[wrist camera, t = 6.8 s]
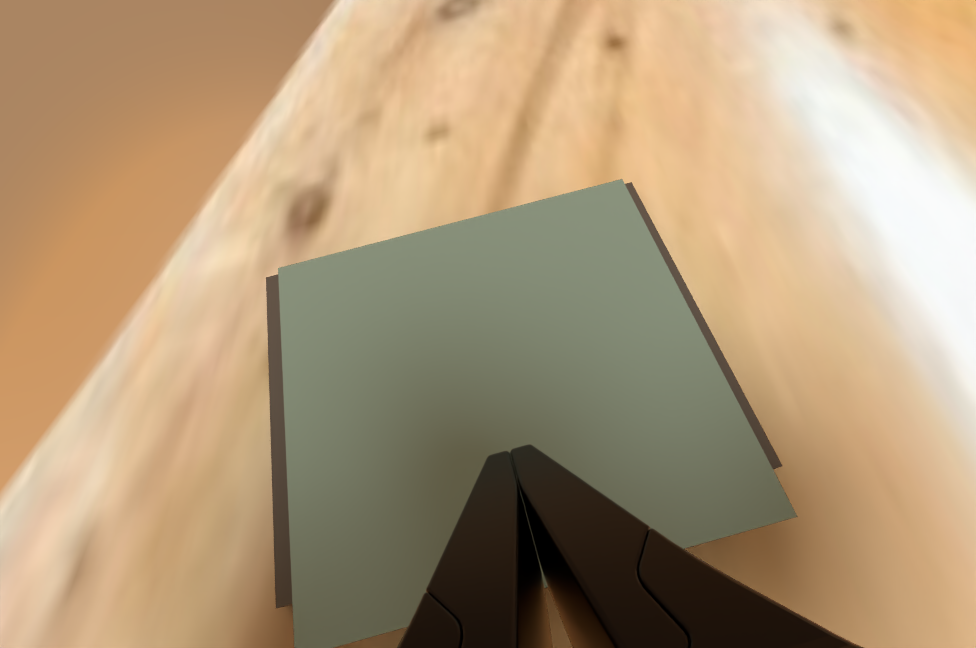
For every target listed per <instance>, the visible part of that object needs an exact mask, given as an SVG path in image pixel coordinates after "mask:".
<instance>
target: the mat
mask: <svg viewBox="0 0 976 648" xmlns="http://www.w3.org/2000/svg"><path fill="white" fill-rule="evenodd" d="M625 186H626V188H627V189H628V191H629V193H630V195H631V197H632V199H633V201H634V203H635V205H636V207H637V209H638V211H639V213H640V214H641V216H642V218H643V220H644V222H645V224H646V226H647V228H648V230H649V232H650V234H651V236H652V238H653V239H654V241H655V243H656V245H657V247H658V249H659V251H660V253H661V255H662V257H663V259H664V261H665V263H666V264H667V266H668V268H669V270H670V272H671V274H672V276H673V278H674V280H675V282H676V284H677V286H678V288H679V289H680V291H681V293H682V295H683V297H684V299H685V301H686V303H687V305H688V307H689V309H690V311H691V313H692V315H693V316H694V318H695V320H696V322H697V324H698V326H699V328H700V330H701V332H702V334H703V336H704V338H705V340H706V341H707V343H708V345H709V347H710V349H711V351H712V353H713V355H714V357H715V359H716V361H717V363H718V365H719V366H720V368H721V370H722V372H723V374H724V376H725V378H726V380H727V382H728V384H729V386H730V388H731V390H732V391H733V393H734V395H735V397H736V399H737V401H738V403H739V405H740V407H741V409H742V411H743V413H744V415H745V416H746V418H747V420H748V422H749V424H750V426H751V428H752V430H753V432H754V434H755V436H756V438H757V440H758V442H759V443H760V445H761V447H762V449H763V451H764V453H765V455H766V457H767V459H768V461H769V463H770V465H771V467H772V468H773V469H776V468H778V467H781V466H782V464H781V462H780V461H779V459H778V457H777V455H776V453H775V451H774V449H773V447H772V446H771V444H770V442H769V440H768V438H767V436H766V434H765V432H764V431H763V429H762V427H761V425H760V423H759V421H758V419H757V417H756V415H755V414H754V412H753V410H752V408H751V406H750V404H749V402H748V400H747V399H746V397H745V395H744V393H743V391H742V389H741V387H740V385H739V384H738V382H737V380H736V378H735V376H734V374H733V372H732V370H731V369H730V367H729V365H728V363H727V361H726V359H725V357H724V355H723V353H722V352H721V350H720V348H719V346H718V344H717V342H716V340H715V338H714V337H713V335H712V333H711V331H710V329H709V327H708V325H707V323H706V322H705V320H704V318H703V316H702V314H701V312H700V310H699V308H698V307H697V305H696V303H695V301H694V299H693V297H692V295H691V293H690V292H689V290H688V288H687V286H686V284H685V282H684V280H683V278H682V276H681V275H680V273H679V271H678V269H677V267H676V265H675V263H674V261H673V260H672V258H671V256H670V254H669V252H668V250H667V248H666V246H665V245H664V243H663V241H662V239H661V237H660V235H659V233H658V231H657V230H656V228H655V226H654V224H653V222H652V220H651V218H650V216H649V214H648V213H647V211H646V209H645V207H644V205H643V203H642V201H641V199H640V198H639V196H638V194H637V192H636V190H635V188H634V186H633V184H632V183H627V184H625ZM266 291H267V324H268V358H269V391H270V425H271V458H272V492H273V525H274V559H275V592H276V608H280V607H284V606H288V605H292V580H291V557H290V534H289V510H288V487H287V464H286V441H285V417H284V394H283V371H282V347H281V324H280V301H279V277H278V275H274V276H270V277H266Z"/></svg>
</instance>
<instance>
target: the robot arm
mask: <svg viewBox="0 0 976 648" xmlns="http://www.w3.org/2000/svg"><path fill="white" fill-rule="evenodd" d="M510 454H511V455H510ZM511 458H512V459H511ZM512 462H513V463H512ZM513 465H514V466H513ZM514 469H515V470H514ZM515 473H516V474H515ZM517 480H518V481H517ZM518 484H519V485H518ZM519 488H520V489H519ZM520 491H521V492H520ZM521 495H522V496H521ZM522 499H523V500H522ZM524 506H525V507H524ZM525 510H526V511H525ZM526 514H527V515H526ZM527 517H528V518H527ZM528 521H529V522H528ZM529 525H530V526H529ZM530 529H531V530H530ZM531 532H532V533H531ZM532 536H533V537H532ZM533 540H534V541H533ZM534 543H535V545H534ZM535 547H536V548H535ZM536 551H537V552H536ZM537 555H538V556H537ZM538 558H539V559H538ZM539 562H540V564H539ZM540 565H541V568H542V572H543V575H544V577H545V580H546V583H547V585H548V588H549V590H550V593H551V595H552V598H553V600H554V603H555V605H556V608H557V610H558V613H559V615H560V617H561V620H562V622H563V625H564V627H565V630H566V632H567V635H568V637H569V640H570V642H571V645H572V647H573V648H863V647H861V646H859V645H856V644H854V643H852V642H850V641H848V640H846V639H844V638H842V637H840V636H838V635H836V634H834V633H832V632H831V631H829V630H827V629H825V628H823V627H821V626H820V625H818V624H816V623H814V622H812V621H810V620H808V619H807V618H805V617H803V616H801V615H799V614H797V613H796V612H794V611H792V610H790V609H788V608H786V607H785V606H783V605H781V604H779V603H777V602H775V601H774V600H772V599H770V598H768V597H766V596H764V595H762V594H761V593H759V592H757V591H755V590H753V589H751V588H750V587H748V586H746V585H744V584H742V583H740V582H739V581H737V580H735V579H733V578H731V577H730V576H728V575H726V574H724V573H723V572H721V571H719V570H718V569H716V568H714V567H712V566H711V565H709V564H707V563H705V562H704V561H702V560H700V559H699V558H697V557H695V556H694V555H692V554H691V553H689V552H688V551H686V550H685V549H683V548H682V547H680V546H678V545H677V544H675V543H674V542H672V541H671V540H669V539H668V538H666V537H665V536H663V535H662V534H661V533H659V532H658V531H656V530H655V529H653V528H650V526H649V525H647V524H646V523H644V522H643V521H641V520H640V519H639V518H637V517H636V516H634V515H633V514H631V513H630V512H628V511H627V510H626V509H624V508H623V507H621V506H620V505H618V504H617V503H615V502H614V501H613V500H611V499H610V498H608V497H607V496H605V495H604V494H602V493H601V492H599V491H598V490H597V489H595V488H594V487H592V486H591V485H589V484H588V483H586V482H585V481H584V480H582V479H581V478H579V477H578V476H576V475H575V474H573V473H572V472H571V471H569V470H568V469H566V468H565V467H563V466H562V465H560V464H559V463H557V462H556V461H555V460H553V459H552V458H550V457H549V456H547V455H546V454H544V453H543V452H542V451H540V450H539V449H537V448H536V447H534V446H533V445H531V444H528V445H524V446H520V447H517V448H513V449H512V450H511V452H510V453H509V452H508V451H502V452H499V453H495V454H492V455H489V456H488V457H487V459H486V461H485V463H484V465H483V467H482V469H481V471H480V474H479V476H478V478H477V480H476V482H475V484H474V487H473V489H472V491H471V493H470V495H469V497H468V500H467V502H466V504H465V506H464V508H463V510H462V512H461V515H460V517H459V519H458V521H457V523H456V525H455V528H454V530H453V532H452V534H451V536H450V538H449V541H448V543H447V545H446V547H445V549H444V551H443V553H442V556H441V558H440V560H439V562H438V564H437V566H436V569H435V571H434V573H433V575H432V577H431V579H430V582H429V584H428V586H427V588H426V593H424V594H423V596H422V598H421V600H420V603H419V605H418V607H417V609H416V611H415V613H414V615H413V617H412V619H411V621H410V623H409V625H408V627H407V629H406V631H405V633H404V635H403V637H402V639H401V641H400V643H399V645H398V647H397V648H553V646H552V639H551V632H550V625H549V618H548V611H547V604H546V597H545V590H544V583H543V578H542V572H541V568H540Z"/></svg>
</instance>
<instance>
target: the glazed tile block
mask: <svg viewBox="0 0 976 648" xmlns="http://www.w3.org/2000/svg"><path fill="white" fill-rule="evenodd" d="M278 277H279V301H280V324H281V347H282V371H283V394H284V417H285V441H286V464H287V487H288V510H289V534H290V557H291V580H292V604H293V627H294V648H334V647H338V646H341V645H345V644H348V643H352V642H356V641H359V640H363V639H366V638H370V637H373V636H377V635H380V634H384V633H387V632H391V631H395V630H398V629H402V628H405V627H408V625H409V623H410V621H411V619H412V617H413V615H414V613H415V611H416V609H417V607H418V605H419V603H420V600H421V598H422V596H423V594H424V593H426V588H427V586H428V584H429V582H430V579H431V577H432V575H433V573H434V571H435V569H436V566H437V564H438V562H439V560H440V558H441V556H442V553H443V551H444V549H445V547H446V545H447V543H448V541H449V538H450V536H451V534H452V532H453V530H454V528H455V525H456V523H457V521H458V519H459V517H460V515H461V512H462V510H463V508H464V506H465V504H466V502H467V500H468V497H469V495H470V493H471V491H472V489H473V487H474V484H475V482H476V480H477V478H478V476H479V474H480V471H481V469H482V467H483V465H484V463H485V461H486V459H487V457H488V456H489V455H492V454H495V453H499V452H502V451H508V452H509V453H510V452H511V450H512V449H513V448H517V447H520V446H524V445H528V444H531V445H533V446H534V447H536V448H537V449H539V450H540V451H542V452H543V453H544V454H546V455H547V456H549V457H550V458H552V459H553V460H555V461H556V462H557V463H559V464H560V465H562V466H563V467H565V468H566V469H568V470H569V471H571V472H572V473H573V474H575V475H576V476H578V477H579V478H581V479H582V480H584V481H585V482H586V483H588V484H589V485H591V486H592V487H594V488H595V489H597V490H598V491H599V492H601V493H602V494H604V495H605V496H607V497H608V498H610V499H611V500H613V501H614V502H615V503H617V504H618V505H620V506H621V507H623V508H624V509H626V510H627V511H628V512H630V513H631V514H633V515H634V516H636V517H637V518H639V519H640V520H641V521H643V522H644V523H646V524H647V525H649V526H650V528H653V529H655V530H656V531H658V532H659V533H661V534H662V535H663V536H665V537H666V538H668V539H669V540H671V541H672V542H674V543H675V544H677V545H678V546H680V547H682V548H683V549H685V548H689V547H692V546H696V545H699V544H703V543H706V542H710V541H713V540H717V539H720V538H724V537H727V536H731V535H735V534H738V533H742V532H745V531H749V530H752V529H756V528H759V527H763V526H766V525H770V524H774V523H777V522H781V521H784V520H788V519H791V518H795V517H797V515H796V513H795V511H794V509H793V507H792V505H791V503H790V501H789V499H788V497H787V495H786V493H785V492H784V490H783V488H782V486H781V484H780V482H779V480H778V478H777V476H776V474H775V472H774V470H773V468H772V467H771V465H770V463H769V461H768V459H767V457H766V455H765V453H764V451H763V449H762V447H761V445H760V443H759V442H758V440H757V438H756V436H755V434H754V432H753V430H752V428H751V426H750V424H749V422H748V420H747V418H746V416H745V415H744V413H743V411H742V409H741V407H740V405H739V403H738V401H737V399H736V397H735V395H734V393H733V391H732V390H731V388H730V386H729V384H728V382H727V380H726V378H725V376H724V374H723V372H722V370H721V368H720V366H719V365H718V363H717V361H716V359H715V357H714V355H713V353H712V351H711V349H710V347H709V345H708V343H707V341H706V340H705V338H704V336H703V334H702V332H701V330H700V328H699V326H698V324H697V322H696V320H695V318H694V316H693V315H692V313H691V311H690V309H689V307H688V305H687V303H686V301H685V299H684V297H683V295H682V293H681V291H680V289H679V288H678V286H677V284H676V282H675V280H674V278H673V276H672V274H671V272H670V270H669V268H668V266H667V264H666V263H665V261H664V259H663V257H662V255H661V253H660V251H659V249H658V247H657V245H656V243H655V241H654V239H653V238H652V236H651V234H650V232H649V230H648V228H647V226H646V224H645V222H644V220H643V218H642V216H641V214H640V213H639V211H638V209H637V207H636V205H635V203H634V201H633V199H632V197H631V195H630V193H629V191H628V189H627V188H626V186H625V184H624V182H623V180H622V179H621V180H617V181H613V182H609V183H605V184H601V185H597V186H594V187H590V188H586V189H582V190H578V191H574V192H570V193H567V194H563V195H559V196H555V197H551V198H547V199H543V200H539V201H536V202H532V203H528V204H524V205H520V206H516V207H512V208H509V209H505V210H501V211H497V212H493V213H489V214H485V215H482V216H478V217H474V218H470V219H466V220H462V221H458V222H455V223H451V224H447V225H443V226H439V227H435V228H431V229H428V230H424V231H420V232H416V233H412V234H408V235H404V236H401V237H397V238H393V239H389V240H385V241H381V242H377V243H374V244H370V245H366V246H362V247H358V248H354V249H350V250H347V251H343V252H339V253H335V254H331V255H327V256H323V257H320V258H316V259H312V260H308V261H304V262H300V263H296V264H292V265H289V266H285V267H281V268H278ZM510 455H511V454H510ZM511 459H512V458H511ZM512 463H513V462H512ZM513 466H514V465H513ZM514 470H515V469H514ZM515 474H516V473H515ZM517 481H518V480H517ZM518 485H519V484H518ZM519 489H520V488H519ZM520 492H521V491H520ZM521 496H522V495H521ZM522 500H523V499H522ZM524 507H525V506H524ZM525 511H526V510H525ZM526 515H527V514H526ZM527 518H528V517H527ZM528 522H529V521H528ZM529 526H530V525H529ZM530 530H531V529H530ZM531 533H532V532H531ZM532 537H533V536H532ZM533 541H534V540H533ZM534 545H535V543H534ZM535 548H536V547H535ZM536 552H537V551H536ZM537 556H538V555H537ZM538 559H539V558H538ZM539 564H540V562H539ZM540 568H541V565H540ZM541 572H542V568H541ZM542 578H543V583H544V588H547V587H548V585H547V583H546V580H545V577H544V575H543V572H542Z"/></svg>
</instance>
